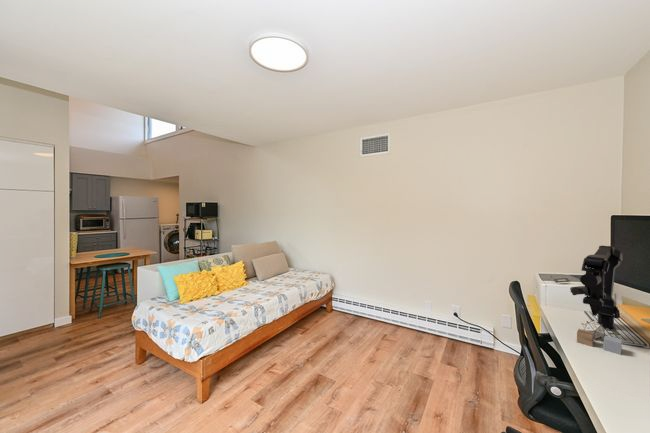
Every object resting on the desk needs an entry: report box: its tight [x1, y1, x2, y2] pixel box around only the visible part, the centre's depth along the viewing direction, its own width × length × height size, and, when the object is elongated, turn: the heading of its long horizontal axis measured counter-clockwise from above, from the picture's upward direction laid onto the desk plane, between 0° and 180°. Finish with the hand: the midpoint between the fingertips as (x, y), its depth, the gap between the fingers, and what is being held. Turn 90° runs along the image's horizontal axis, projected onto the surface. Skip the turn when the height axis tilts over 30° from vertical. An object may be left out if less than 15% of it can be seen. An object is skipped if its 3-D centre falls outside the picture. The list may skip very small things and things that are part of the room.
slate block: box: [603, 334, 623, 356], centre depth 114 cm, size 5×5×5 cm
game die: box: [581, 319, 608, 341], centre depth 124 cm, size 9×8×10 cm
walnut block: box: [576, 328, 595, 348], centre depth 120 cm, size 5×5×5 cm
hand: (594, 315), depth 124 cm, fingers closed
